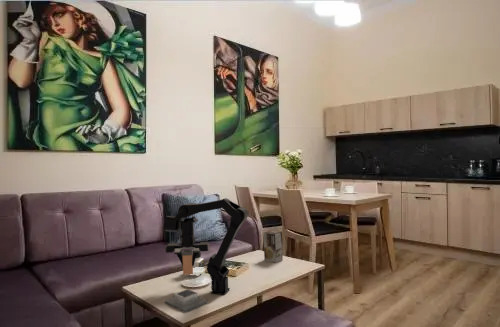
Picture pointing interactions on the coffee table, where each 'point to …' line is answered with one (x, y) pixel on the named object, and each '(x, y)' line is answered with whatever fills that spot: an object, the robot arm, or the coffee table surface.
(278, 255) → the coffee box
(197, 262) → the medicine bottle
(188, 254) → the orange block
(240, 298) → the coffee table surface
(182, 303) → the collar
